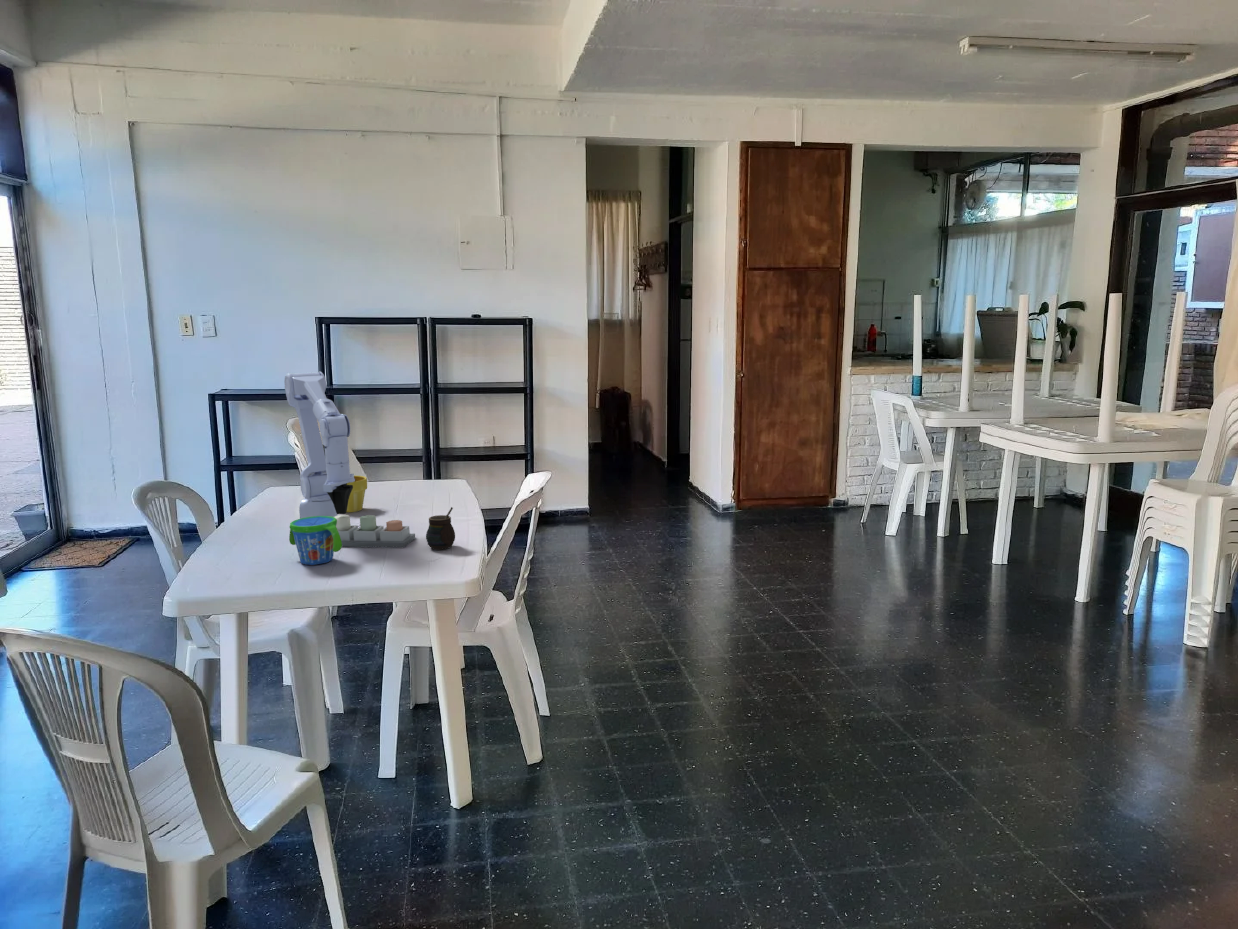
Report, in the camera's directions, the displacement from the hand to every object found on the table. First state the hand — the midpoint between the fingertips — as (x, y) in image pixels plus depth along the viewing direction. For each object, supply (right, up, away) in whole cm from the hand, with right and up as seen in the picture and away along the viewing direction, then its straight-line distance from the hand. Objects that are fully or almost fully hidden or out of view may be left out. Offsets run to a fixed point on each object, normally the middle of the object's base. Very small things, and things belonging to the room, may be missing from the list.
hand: (341, 513), depth 217 cm
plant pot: (-9, -1, +37) cm, 38 cm away
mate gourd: (+27, -9, -5) cm, 29 cm away
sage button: (+7, -5, 0) cm, 9 cm away
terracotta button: (+14, -6, 0) cm, 15 cm away
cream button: (0, -5, +1) cm, 5 cm away
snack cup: (-1, -11, -15) cm, 19 cm away
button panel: (+7, -8, +1) cm, 10 cm away
